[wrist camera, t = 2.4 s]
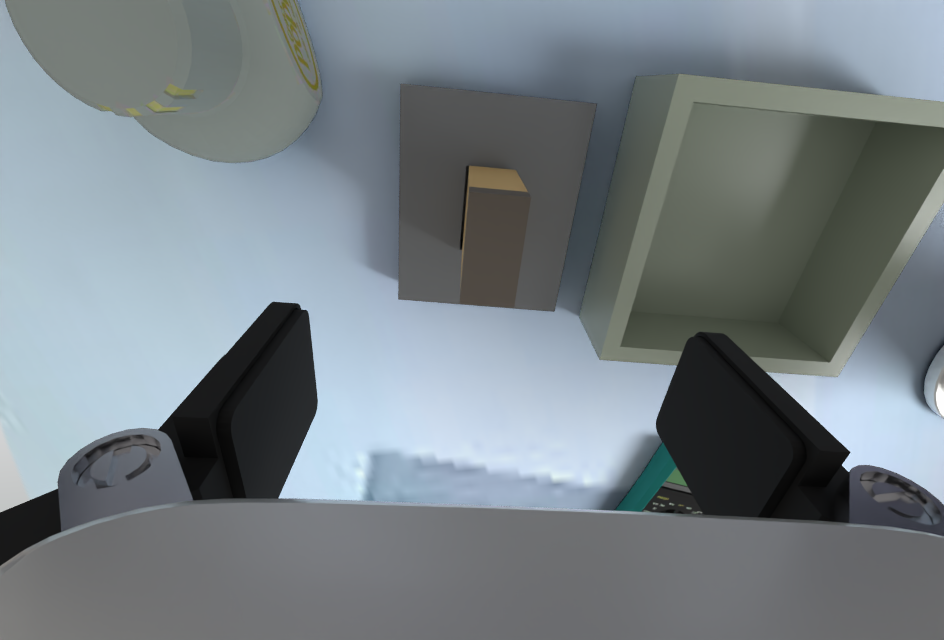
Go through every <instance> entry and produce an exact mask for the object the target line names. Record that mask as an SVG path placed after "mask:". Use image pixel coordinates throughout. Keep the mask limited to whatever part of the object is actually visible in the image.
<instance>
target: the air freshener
mask: <svg viewBox="0 0 944 640" xmlns="http://www.w3.org/2000/svg"><path fill="white" fill-rule="evenodd" d="M5 2H6V6H7V9H8V12H9V14H10V17H11V19H12V22H13V24H14V27H15V29H16V30H17V32H18V34H19V36H20V38H21V40H22V42H23V43H24V45H25V46H26V48H27V49H28V51H29V52H30V54H31V55H32V56H33V58H34V59H35V60H36V62H37V63H38V64H39V65H40V66H41V67H42V69H43V70H44V71H45V72H46V73H47V74H48V75H49V76H50V77H51V78H52V79H53V80H54V81H55V82H56V83H57V84H58V85H59V86H61V87H62V88H63V89H64V90H66V91H67V92H68V93H70V94H71V95H72V96H74V97H75V98H77V99H79V100H80V101H82V102H84V103H85V104H87V105H89V106H91V107H94V108H96V109H98V110H100V111H113V112H114V113H115V114H116V115H118V116H126V117H134V118H135V119H136V120H137V121H138V122H139V123H140V124H141V125H142V126H143V127H144V128H145V129H146V130H147V131H148V132H149V133H151V134H152V135H154V136H155V137H157V138H158V139H160V140H162V141H163V142H165V143H167V144H168V145H170V146H172V147H174V148H176V149H179V150H181V151H183V152H185V153H188V154H190V155H192V156H196V157H200V158H203V159H207V160H210V161H217V162H226V163H241V162H252V161H256V160H260V159H264V158H268V157H270V156H272V155H274V154H276V153H278V152H281V151H283V150H284V149H285V148H287V147H288V146H289V145H291V144H292V143H293V142H295V141H296V140H297V139H298V138H299V137H300V136H301V135H302V133H303V132H304V131H305V130H306V129H307V128H308V126H309V125H310V123H311V121H312V120H313V118H314V116H315V114H316V113H317V110H318V107H319V105H320V102H321V99H322V84H321V78H320V73H319V68H318V64H317V60H316V56H315V52H314V49H313V45H312V42H311V39H310V36H309V32H308V29H307V26H306V23H305V20H304V17H303V15H302V12H301V9H300V6H299V3H298V1H297V0H5Z"/></svg>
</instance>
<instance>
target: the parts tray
mask: <svg viewBox="0 0 944 640" xmlns="http://www.w3.org/2000/svg"><path fill="white" fill-rule="evenodd" d="M943 203H944V102H940V101H931V100H921V99H912V98H902V97H893V96H884V95H874V94H865V93H856V92H846V91H837V90H828V89H818V88H809V87H800V86H790V85H781V84H772V83H762V82H753V81H744V80H734V79H725V78H715V77H706V76H697V75H687V74H665V75H650V76H636V78H635V83H634V87H633V91H632V95H631V99H630V104H629V108H628V112H627V116H626V121H625V125H624V129H623V133H622V137H621V142H620V146H619V150H618V154H617V159H616V163H615V167H614V171H613V175H612V180H611V184H610V188H609V192H608V197H607V201H606V205H605V209H604V213H603V218H602V222H601V226H600V230H599V235H598V239H597V243H596V247H595V251H594V256H593V260H592V264H591V268H590V273H589V277H588V281H587V285H586V289H585V294H584V298H583V302H582V306H581V311H580V315H579V318H580V320H581V322H582V324H583V326H584V328H585V330H586V332H587V334H588V337H589V339H590V341H591V343H592V345H593V347H594V349H595V351H596V353H597V355H598V357H599V360H610V361H623V362H637V363H651V364H664V365H678V362H679V360H680V357H681V354H682V352H683V349H684V347H685V344H686V342H687V340H688V339H689V338H690V337H694V335H695V334H696V333H698V332H712V333H724V334H725V335H727V336H728V337H729V338H730V339H731V340H732V341H733V342H734V343H735V344H736V345H737V346H738V347H740V348H741V349H742V350H743V351H744V352H745V353H746V354H747V355H748V356H749V357H750V358H751V359H752V360H753V361H754V362H755V363H756V364H757V365H759V366H760V367H761V368H762V369H763V370H764V371H765V372H774V373H787V374H801V375H815V376H828V377H838V376H839V374H840V372H841V371H842V369H843V367H844V366H845V364H846V363H847V361H848V359H849V358H850V356H851V354H852V353H853V351H854V349H855V348H856V346H857V344H858V343H859V341H860V339H861V338H862V336H863V335H864V333H865V331H866V330H867V328H868V326H869V325H870V323H871V321H872V320H873V318H874V316H875V315H876V313H877V312H878V310H879V308H880V307H881V305H882V303H883V302H884V300H885V298H886V297H887V295H888V293H889V292H890V290H891V288H892V287H893V285H894V284H895V282H896V280H897V279H898V277H899V275H900V274H901V272H902V270H903V269H904V267H905V265H906V264H907V262H908V260H909V259H910V257H911V256H912V254H913V252H914V251H915V249H916V247H917V246H918V244H919V242H920V241H921V239H922V237H923V236H924V234H925V233H926V231H927V229H928V228H929V226H930V224H931V223H932V221H933V219H934V218H935V216H936V214H937V213H938V211H939V209H940V208H941V206H942V205H943Z"/></svg>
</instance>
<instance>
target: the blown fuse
mask: <svg viewBox="0 0 944 640" xmlns="http://www.w3.org/2000/svg"><path fill="white" fill-rule="evenodd" d="M530 201H531V196H530V194H529V193H528V191H527V189H526V187H525V186H524V184H523V182H522V180H521V178H520V177H519V175H518V173H517V171H516V170H511V169H500V168H490V167H479V166H469V174H468V186H467V198H466V210H465V222H464V234H463V246H462V261H461V284H460V304H472V305H485V306H498V307H510V308H514V306H515V299H516V293H517V286H518V280H519V273H520V267H521V260H522V253H523V247H524V240H525V234H526V227H527V221H528V214H529V208H530Z"/></svg>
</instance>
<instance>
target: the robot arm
mask: <svg viewBox="0 0 944 640" xmlns="http://www.w3.org/2000/svg"><path fill="white" fill-rule="evenodd" d="M924 395H925V398H926V402H927V404H928V405H929V407H930V408H931V409H932V411H934V412H935V413H936V414H938V415H939V416H940V417H942V418H943V419H944V345H943V347H942V348H941V349H940V350H939V352H938V353H937V354H936V356H935V358H934V359H933V361H932V363H931V365H930V367H929V369H928V372H927V375H926V378H925V383H924ZM317 403H318V400H317V389H316V380H315V370H314V360H313V351H312V341H311V331H310V322H309V314H308V311H307V310H301V308H300V305H299V304H296V303H282V302H272V303H270V305H269V306H268V307H267V308H266V309H265V310H264V311H263V313H262V314H261V315H260V316H259V317H258V318H257V319H256V321H255V322H254V323H253V324H252V325H251V326H250V327H249V329H248V330H247V331H246V332H245V333H244V334H243V335H242V337H241V338H240V339H239V340H238V341H237V342H236V343H235V345H234V346H233V347H232V348H231V349H230V350H229V351H228V353H227V354H226V355H224V356H223V357H222V358H221V359H220V360H219V361H218V362H217V363H216V365H215V366H214V367H213V368H212V369H211V370H210V371H209V373H208V374H207V375H206V376H205V377H204V378H203V379H202V380H201V382H200V383H199V384H198V385H197V386H196V387H195V388H194V390H193V391H192V392H191V393H190V394H189V395H188V396H187V398H186V399H185V400H184V401H183V402H182V403H181V404H180V405H179V407H178V408H177V409H176V410H175V411H174V412H173V413H172V415H171V416H170V417H169V418H168V419H167V420H166V421H165V423H164V424H163V425H162V426H161V427H160V428H159V429H158V430H157V429H148V428H138V429H128V430H124V431H121V432H117V433H113V434H110V435H108V436H105V437H103V438H100V439H98V440H96V441H94V442H92V443H90V444H89V445H87V446H85V447H84V448H82V449H80V450H79V451H78V452H77V453H76V454H74V455H73V456H72V457H71V458H70V459H69V460H68V461H67V462H66V463H65V465H64V466H63V468H62V469H61V470H60V473H59V478H58V489H56V490H54V491H51V492H49V493H46V494H44V495H42V496H39V497H37V498H34V499H32V500H30V501H27V502H25V503H22V504H20V505H18V506H15V507H13V508H10V509H8V510H5V511H3V512H1V513H0V640H944V505H943V504H942V503H941V502H940V500H938V499H937V498H936V497H935V496H933V495H932V494H931V493H930V492H928V491H927V490H926V489H924V488H923V487H921V486H919V485H918V484H916V483H915V482H913V481H911V480H909V479H907V478H905V477H903V476H901V475H899V474H897V473H895V472H892V471H889V470H886V469H884V468H880V467H875V466H870V465H858V466H856V467H854V468H852V469H851V470H850V472H848V471H847V470H846V469H845V468H844V467H843V466H842V464H843V462H844V461H845V459H846V458H847V457H848V455H849V454H850V451H848V450H847V449H846V448H845V447H844V446H843V445H842V444H841V443H840V442H839V441H838V440H837V439H836V438H835V437H834V436H833V435H832V434H830V433H829V432H828V431H827V430H826V429H825V428H824V427H823V426H822V425H821V424H820V423H819V422H818V421H817V420H816V419H815V418H814V417H813V416H811V415H810V414H809V413H808V412H807V411H806V410H805V409H804V408H803V407H802V406H801V405H800V404H799V403H798V402H797V401H796V400H795V399H793V398H792V397H791V396H790V395H789V394H788V393H787V392H786V391H785V390H784V389H783V388H782V387H781V386H780V385H779V384H778V383H777V382H775V381H774V380H773V379H772V378H771V377H770V376H769V375H768V374H767V373H766V372H765V371H764V370H763V369H762V368H761V367H760V366H759V365H757V364H756V363H755V362H754V361H753V360H752V359H751V358H750V357H749V356H748V355H747V354H746V353H745V352H744V351H743V350H742V349H741V348H740V347H738V346H737V345H736V344H735V343H734V342H733V341H732V340H731V339H730V338H729V337H728V336H727V335H725V334H724V333H712V332H698V333H696V334H695V335H694V337H690V338H689V339H688V340H687V342H686V344H685V347H684V349H683V352H682V354H681V357H680V360H679V362H678V365H677V367H676V370H675V373H674V375H673V378H672V380H671V383H670V386H669V388H668V391H667V393H666V396H665V399H664V401H663V404H662V406H661V409H660V411H659V414H658V417H657V420H656V429H657V432H658V434H659V436H660V438H661V440H662V442H663V443H664V445H665V447H666V449H667V450H668V452H669V454H670V456H671V458H672V459H673V461H674V463H675V465H676V466H677V468H678V470H679V472H680V474H681V475H682V477H683V479H684V481H685V482H686V484H687V486H688V488H689V490H690V491H691V493H692V495H693V497H694V498H695V500H696V502H697V504H698V506H699V507H700V509H701V511H702V513H703V514H704V515H696V514H675V513H654V512H633V511H610V510H587V509H564V508H540V507H516V506H492V505H466V504H438V503H411V502H384V501H357V500H326V499H278V497H279V495H280V493H281V491H282V488H283V486H284V484H285V482H286V479H287V477H288V475H289V473H290V470H291V468H292V466H293V464H294V461H295V459H296V457H297V455H298V452H299V450H300V448H301V446H302V443H303V441H304V439H305V437H306V434H307V432H308V430H309V428H310V425H311V423H312V421H313V419H314V416H315V414H316V410H317Z"/></svg>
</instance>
